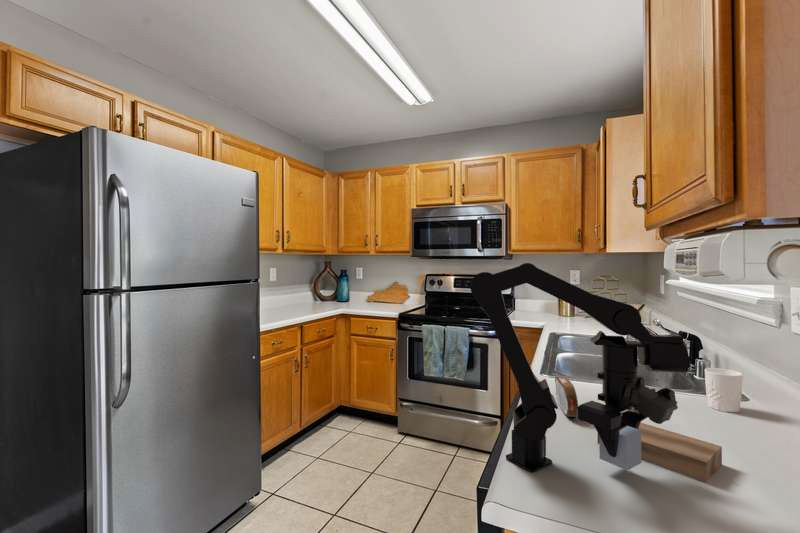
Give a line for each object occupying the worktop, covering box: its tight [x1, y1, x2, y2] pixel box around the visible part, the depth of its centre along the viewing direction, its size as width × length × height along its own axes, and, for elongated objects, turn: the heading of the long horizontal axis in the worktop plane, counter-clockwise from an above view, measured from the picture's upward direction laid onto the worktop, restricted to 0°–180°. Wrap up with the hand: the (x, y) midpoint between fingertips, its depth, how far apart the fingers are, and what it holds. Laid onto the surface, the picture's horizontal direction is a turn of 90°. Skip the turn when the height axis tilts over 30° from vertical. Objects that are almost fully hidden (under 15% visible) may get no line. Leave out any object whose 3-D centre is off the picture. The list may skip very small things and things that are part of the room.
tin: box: [554, 375, 579, 418], centre depth 100 cm, size 15×3×8 cm, turn 168°
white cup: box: [704, 367, 744, 414], centre depth 102 cm, size 8×8×10 cm
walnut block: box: [597, 422, 723, 484], centre depth 77 cm, size 10×19×4 cm, turn 37°
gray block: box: [599, 426, 642, 471], centre depth 70 cm, size 5×5×6 cm
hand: (620, 452), depth 70 cm, fingers closed on gray block, 5 cm apart
